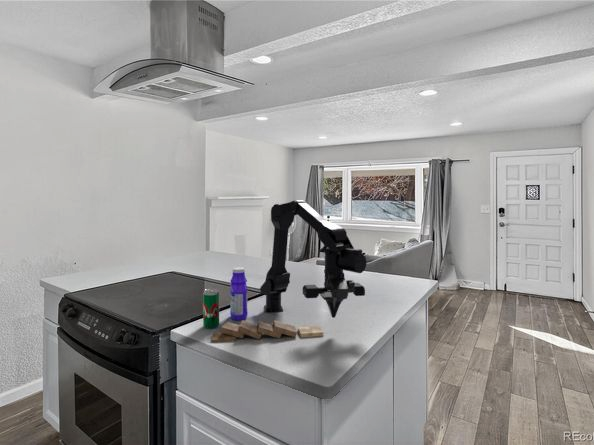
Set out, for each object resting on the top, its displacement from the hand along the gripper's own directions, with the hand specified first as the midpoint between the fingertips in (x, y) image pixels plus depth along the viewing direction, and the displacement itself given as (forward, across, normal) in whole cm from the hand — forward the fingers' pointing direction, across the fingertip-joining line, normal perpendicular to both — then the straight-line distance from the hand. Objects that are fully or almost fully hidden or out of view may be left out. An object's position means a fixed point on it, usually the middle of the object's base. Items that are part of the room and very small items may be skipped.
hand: (333, 317), depth 110 cm
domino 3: (+4, -22, 0) cm, 23 cm away
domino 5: (+4, -12, 0) cm, 13 cm away
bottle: (+5, -29, +18) cm, 34 cm away
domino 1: (+5, -30, 0) cm, 30 cm away
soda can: (+5, -38, +11) cm, 40 cm away
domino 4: (+4, -17, 0) cm, 17 cm away
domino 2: (+4, -27, +1) cm, 27 cm away
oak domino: (+4, -4, 0) cm, 6 cm away
